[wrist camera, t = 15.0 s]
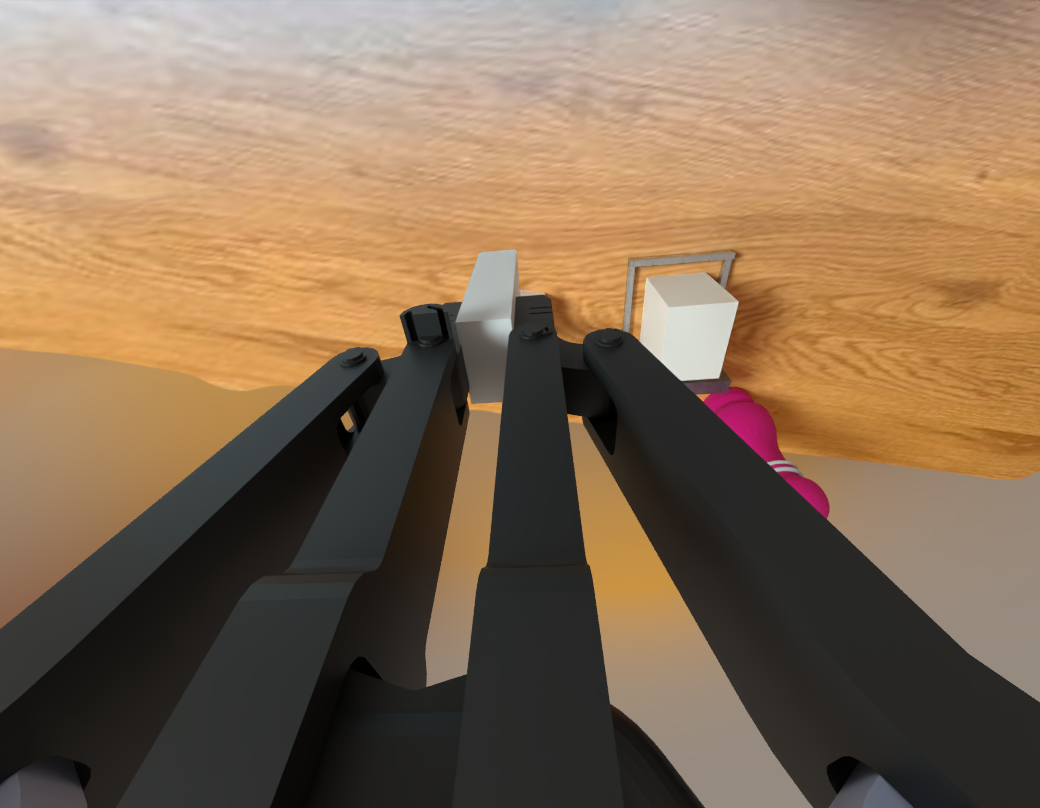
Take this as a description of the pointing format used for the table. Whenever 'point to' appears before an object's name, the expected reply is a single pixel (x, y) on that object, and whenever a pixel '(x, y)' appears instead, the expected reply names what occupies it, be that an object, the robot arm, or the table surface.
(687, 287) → the block
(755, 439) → the pepper mill
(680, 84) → the table surface
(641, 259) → the rail plate
